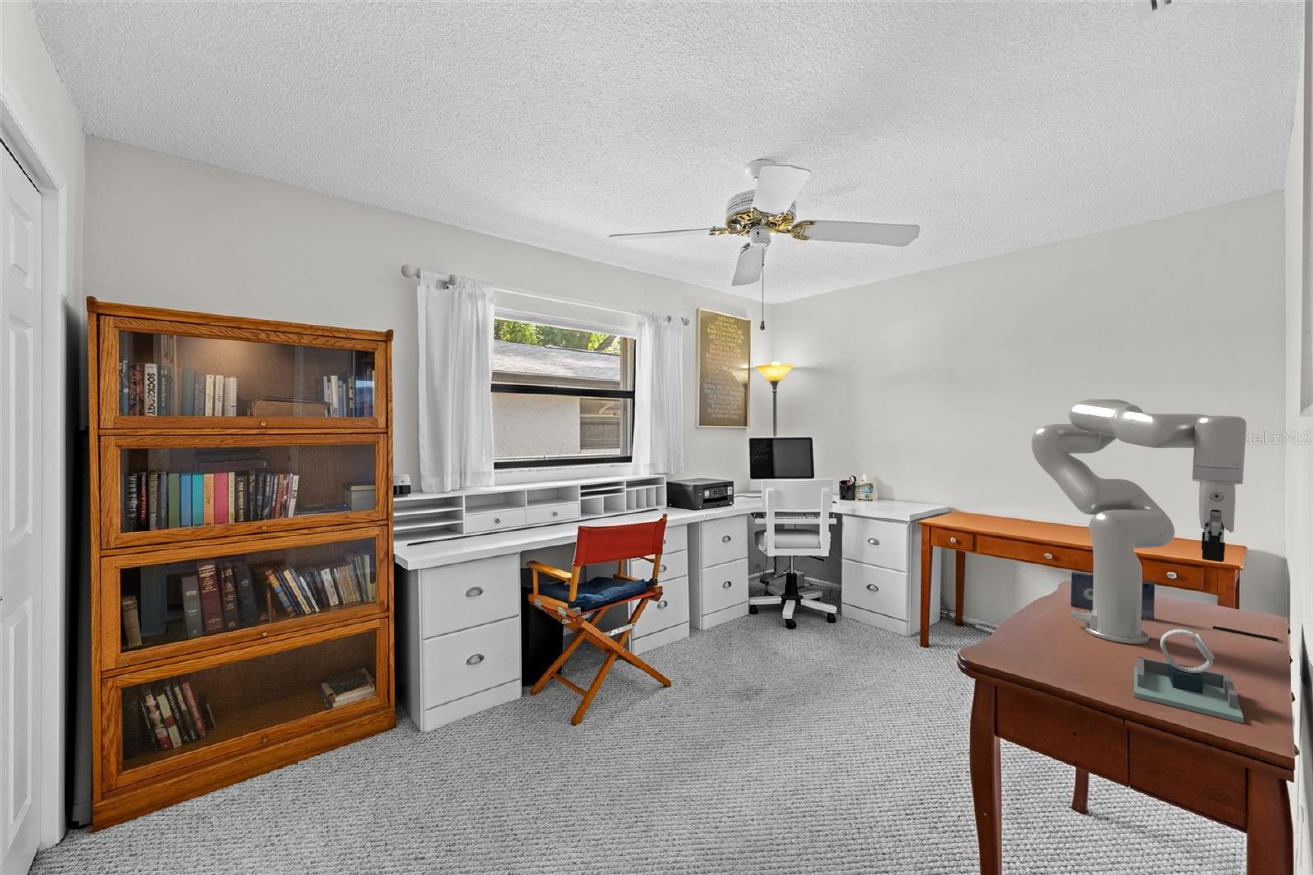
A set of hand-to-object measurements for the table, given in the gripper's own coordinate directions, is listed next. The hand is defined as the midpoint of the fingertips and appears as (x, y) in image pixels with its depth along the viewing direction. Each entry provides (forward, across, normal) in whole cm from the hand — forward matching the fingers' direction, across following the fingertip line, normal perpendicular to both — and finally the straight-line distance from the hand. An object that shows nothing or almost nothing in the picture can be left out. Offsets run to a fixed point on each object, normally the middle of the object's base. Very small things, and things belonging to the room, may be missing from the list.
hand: (1212, 555), depth 119 cm
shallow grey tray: (+25, -15, +3) cm, 30 cm away
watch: (+25, -12, +3) cm, 28 cm away
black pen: (+27, +37, -8) cm, 46 cm away
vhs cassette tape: (+27, +36, +18) cm, 49 cm away
